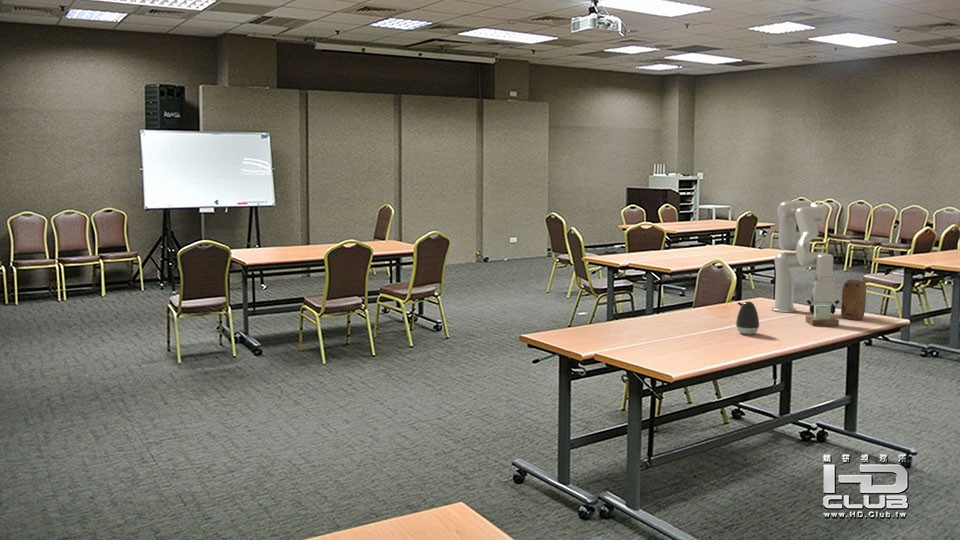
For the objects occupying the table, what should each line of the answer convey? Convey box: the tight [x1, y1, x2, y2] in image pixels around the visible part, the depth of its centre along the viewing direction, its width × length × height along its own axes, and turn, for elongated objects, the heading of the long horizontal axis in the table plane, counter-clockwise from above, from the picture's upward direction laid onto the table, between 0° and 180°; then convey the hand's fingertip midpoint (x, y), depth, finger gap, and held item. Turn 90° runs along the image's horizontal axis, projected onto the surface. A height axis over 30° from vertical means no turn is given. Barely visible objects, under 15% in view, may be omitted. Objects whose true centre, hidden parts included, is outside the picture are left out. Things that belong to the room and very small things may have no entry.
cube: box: [813, 304, 832, 319], centre depth 393 cm, size 6×6×6 cm
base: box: [805, 315, 840, 328], centre depth 393 cm, size 12×12×3 cm
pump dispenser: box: [735, 301, 760, 336], centre depth 370 cm, size 10×10×15 cm
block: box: [840, 279, 867, 321], centre depth 406 cm, size 11×8×20 cm
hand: (822, 313), depth 393 cm, fingers open, 9 cm apart
